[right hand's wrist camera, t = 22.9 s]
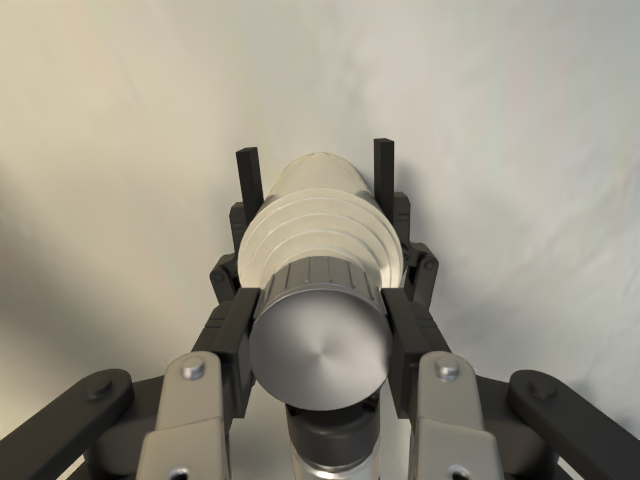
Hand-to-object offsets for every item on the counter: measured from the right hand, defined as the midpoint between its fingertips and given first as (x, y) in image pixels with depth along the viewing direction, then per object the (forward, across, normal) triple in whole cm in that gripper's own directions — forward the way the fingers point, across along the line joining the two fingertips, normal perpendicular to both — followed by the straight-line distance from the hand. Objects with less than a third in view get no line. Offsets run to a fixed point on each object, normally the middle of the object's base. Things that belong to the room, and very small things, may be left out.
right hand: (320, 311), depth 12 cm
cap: (-2, 0, 0) cm, 2 cm away
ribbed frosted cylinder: (+17, 0, 0) cm, 17 cm away
